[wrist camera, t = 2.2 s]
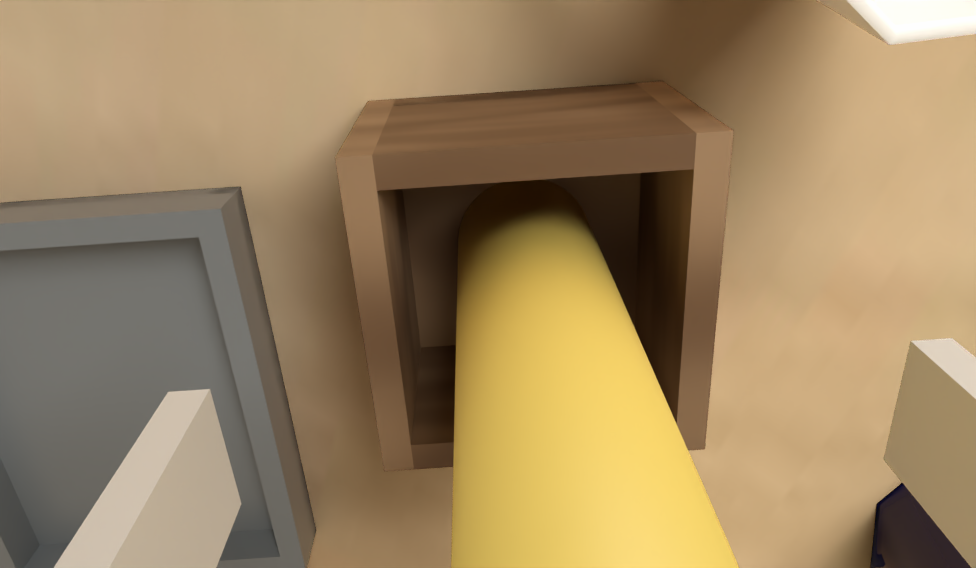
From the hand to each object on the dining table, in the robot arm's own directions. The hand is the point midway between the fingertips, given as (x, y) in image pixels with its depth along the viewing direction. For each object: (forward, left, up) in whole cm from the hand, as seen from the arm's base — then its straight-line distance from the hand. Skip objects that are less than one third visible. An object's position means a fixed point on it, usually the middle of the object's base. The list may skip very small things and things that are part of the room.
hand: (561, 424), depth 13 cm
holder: (0, 0, -10) cm, 10 cm away
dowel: (0, 0, -9) cm, 9 cm away
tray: (+5, -14, -10) cm, 18 cm away
